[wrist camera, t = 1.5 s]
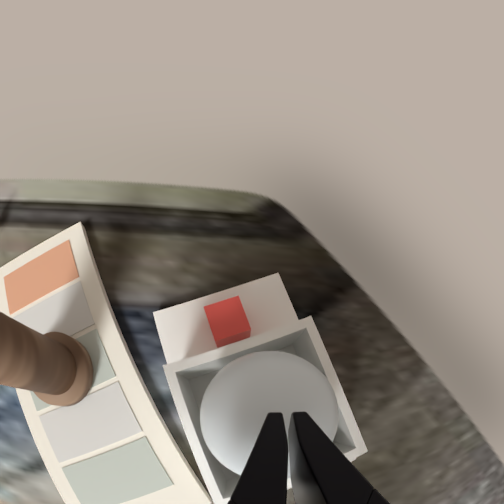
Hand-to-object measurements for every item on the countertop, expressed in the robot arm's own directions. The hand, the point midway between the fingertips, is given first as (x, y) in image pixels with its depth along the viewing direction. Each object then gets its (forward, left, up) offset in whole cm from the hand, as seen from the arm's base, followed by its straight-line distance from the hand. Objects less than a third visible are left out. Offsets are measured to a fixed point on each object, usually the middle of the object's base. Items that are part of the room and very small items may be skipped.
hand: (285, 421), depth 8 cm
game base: (+1, 0, -12) cm, 12 cm away
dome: (0, 0, -8) cm, 8 cm away
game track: (+6, +12, -12) cm, 18 cm away
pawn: (+6, +12, -11) cm, 17 cm away
